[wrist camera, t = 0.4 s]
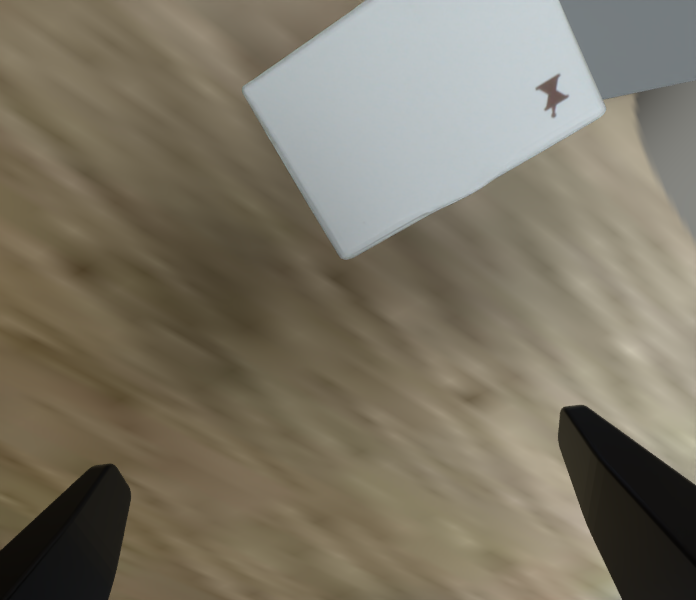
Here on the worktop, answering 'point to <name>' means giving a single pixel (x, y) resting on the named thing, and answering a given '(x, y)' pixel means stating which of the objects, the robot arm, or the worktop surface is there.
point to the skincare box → (420, 107)
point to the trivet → (635, 42)
